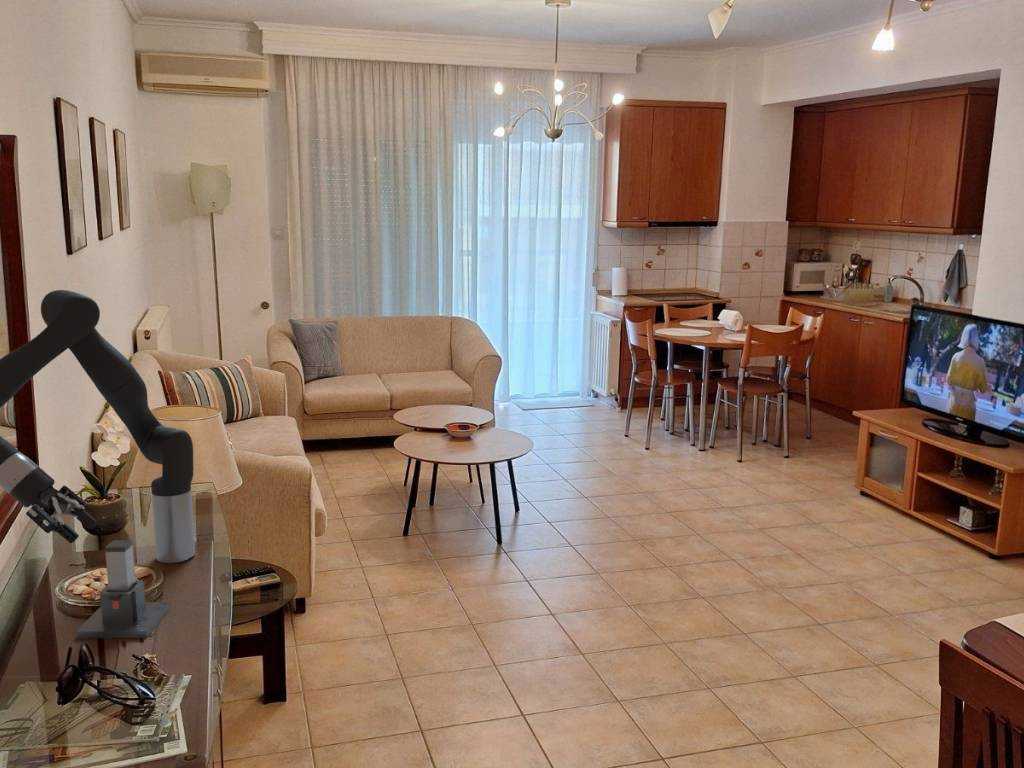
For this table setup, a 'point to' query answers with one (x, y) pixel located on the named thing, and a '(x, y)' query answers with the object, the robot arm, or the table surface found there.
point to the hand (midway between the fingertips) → (84, 532)
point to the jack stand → (124, 615)
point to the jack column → (120, 566)
